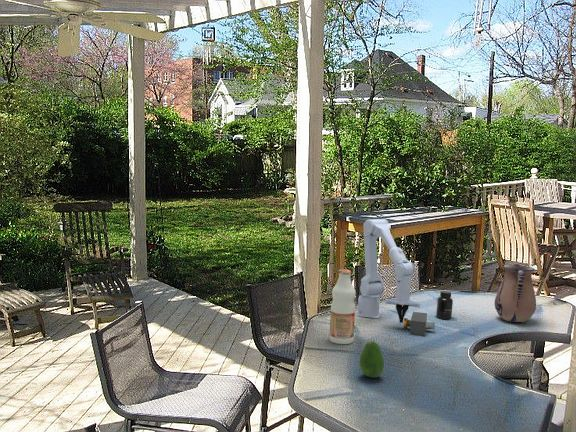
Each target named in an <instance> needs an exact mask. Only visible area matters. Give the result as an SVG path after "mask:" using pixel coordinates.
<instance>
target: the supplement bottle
mask: <svg viewBox="0 0 576 432" xmlns="http://www.w3.org/2000/svg"><path fill="white" fill-rule="evenodd" d="M451 297H452V291H448V290H441V291H440V292H439V296H438V297H437V301H436V313H435V317H436V318H437V319H439V320H444V321H446V320H451V319H452V316H453V315H452V313H453V305H454V302H453V301H454V300H453V298H451Z"/></svg>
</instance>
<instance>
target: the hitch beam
mask: <svg viewBox="0 0 576 432" xmlns="http://www.w3.org/2000/svg"><path fill="white" fill-rule="evenodd" d="M411 314H412V315H411V319H410V320H411V324H410V327H409V335H412V336H413V335H414V336H421V337H425V335H426V330H427V329H426V322H428V321H427V320H428V313H427V312H420V311H412V313H411Z"/></svg>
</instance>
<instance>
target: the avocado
mask: <svg viewBox="0 0 576 432" xmlns="http://www.w3.org/2000/svg"><path fill="white" fill-rule="evenodd" d="M384 367H385V360H384V357H383V353H382V351H381V348H380V346H379V344H378V343H377V342H375V341H372V340H371V341H368V342H366V343H365V345H364V348H363V349H362V352H361V354H360V357H359V368H360V370H361V373H362V374H363V375H364V376H366V377H367V378H374V379H375V378H378V377H379V376H381V375H382V373H383V371H384Z"/></svg>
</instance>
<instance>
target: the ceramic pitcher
mask: <svg viewBox="0 0 576 432" xmlns="http://www.w3.org/2000/svg"><path fill="white" fill-rule="evenodd" d="M503 268H504V269H505V273H504V275H503V276H504V277H503V278H502V281H501V284H500V286H499V288H498V290H497V292H496V295H495V298H494V308H495V311H496V313H497V315H498V316H499V317H500V318H501V319H502V320H504V321H506V322H508V321H511V322H510V323H513V322H522V323H525V322H527V321H529V319H531V318H532V317H533V315H534V314H535V312H536V311H537V309H536V308H537V300H536V299H537V298H536V293H535V288H534V284H533V279H532V274H533V272H534V271H535V269H536V268H534V267H532V266H529V265H528V266H527V265H524V266H522V265H520V264H517V263H516V264H515V263H514V264H504V265H503Z"/></svg>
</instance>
